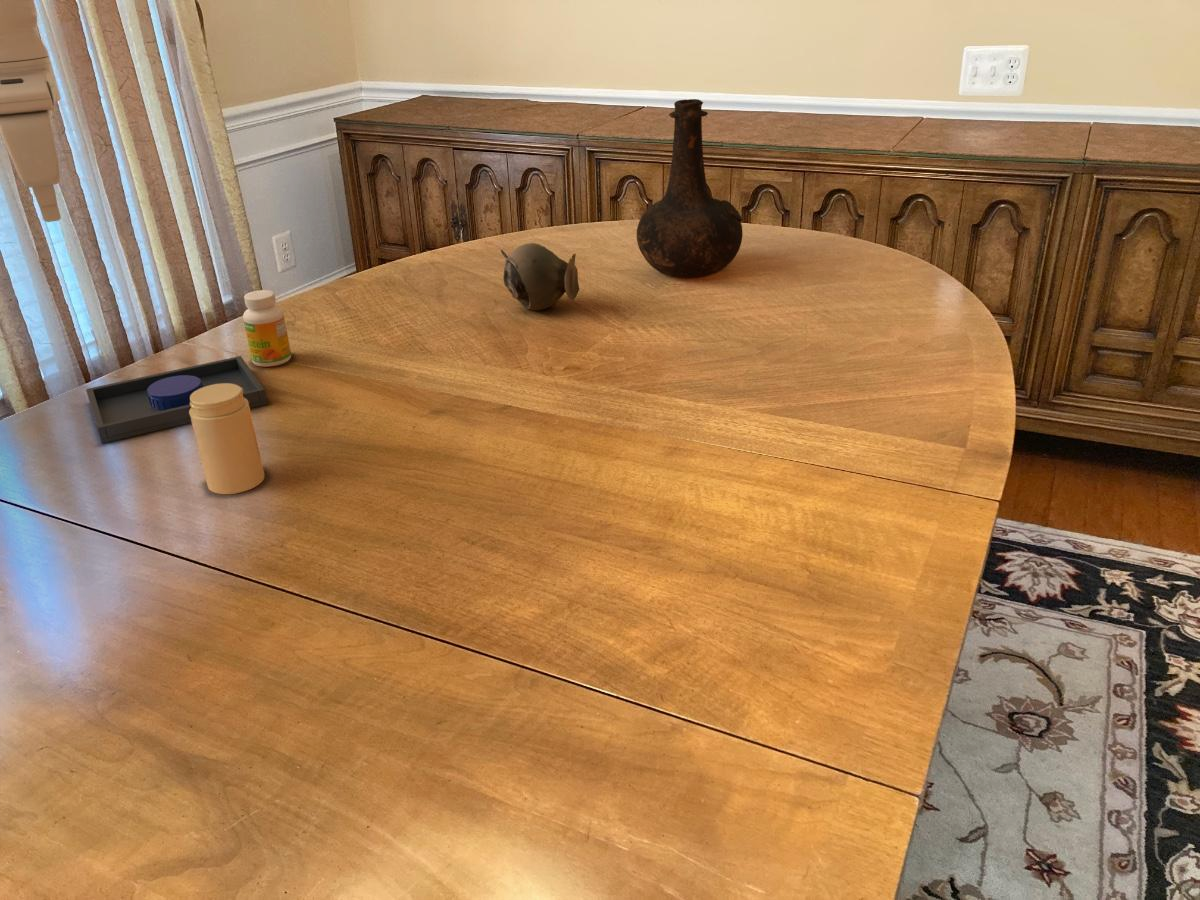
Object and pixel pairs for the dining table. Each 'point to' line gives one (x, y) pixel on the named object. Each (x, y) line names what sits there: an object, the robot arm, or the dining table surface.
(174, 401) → the lid
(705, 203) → the glass bottle
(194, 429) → the jar
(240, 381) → the tray
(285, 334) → the supplement bottle
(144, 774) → the dining table surface
